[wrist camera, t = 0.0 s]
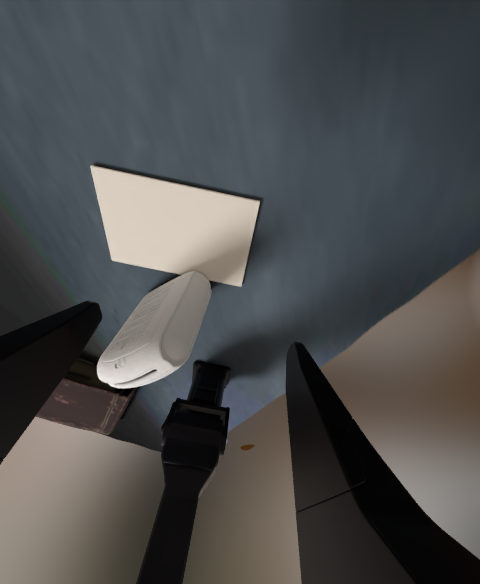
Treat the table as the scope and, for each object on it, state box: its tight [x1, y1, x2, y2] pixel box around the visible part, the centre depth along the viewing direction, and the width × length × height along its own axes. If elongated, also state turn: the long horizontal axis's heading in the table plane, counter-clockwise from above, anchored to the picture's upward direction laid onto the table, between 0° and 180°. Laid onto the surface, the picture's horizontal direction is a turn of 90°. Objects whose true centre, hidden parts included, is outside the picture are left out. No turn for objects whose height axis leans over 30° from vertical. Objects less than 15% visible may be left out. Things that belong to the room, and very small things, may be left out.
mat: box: [90, 165, 260, 287], centre depth 22 cm, size 10×16×1 cm, turn 80°
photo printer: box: [97, 271, 212, 388], centre depth 22 cm, size 10×4×12 cm, turn 122°
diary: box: [35, 357, 138, 435], centre depth 46 cm, size 19×25×5 cm
